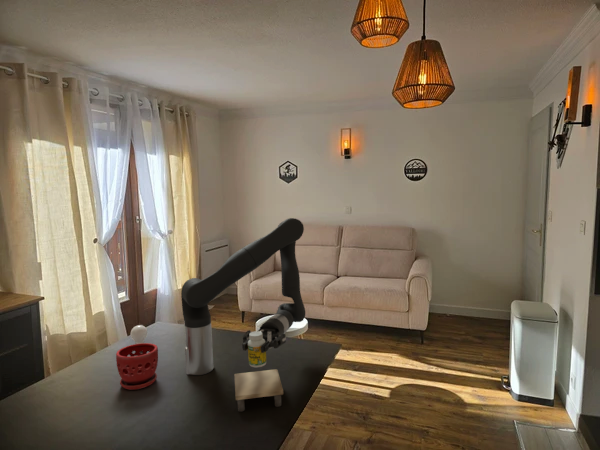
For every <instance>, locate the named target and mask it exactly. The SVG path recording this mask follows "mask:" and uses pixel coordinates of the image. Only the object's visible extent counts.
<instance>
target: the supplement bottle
mask: <svg viewBox="0 0 600 450" xmlns="http://www.w3.org/2000/svg"><path fill="white" fill-rule="evenodd" d="M249 338H250V340H249V341H248V349H247V355H248V365H249V366H250V367H252V368H262V367H264V366H265V365H266V364H267V351H266V352H264V353H261V346H262V345H263V344H264V343H265V340H264V339H263V334H262V332H260V331H258V330H254V331H251V333H250V334H249Z"/></svg>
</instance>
